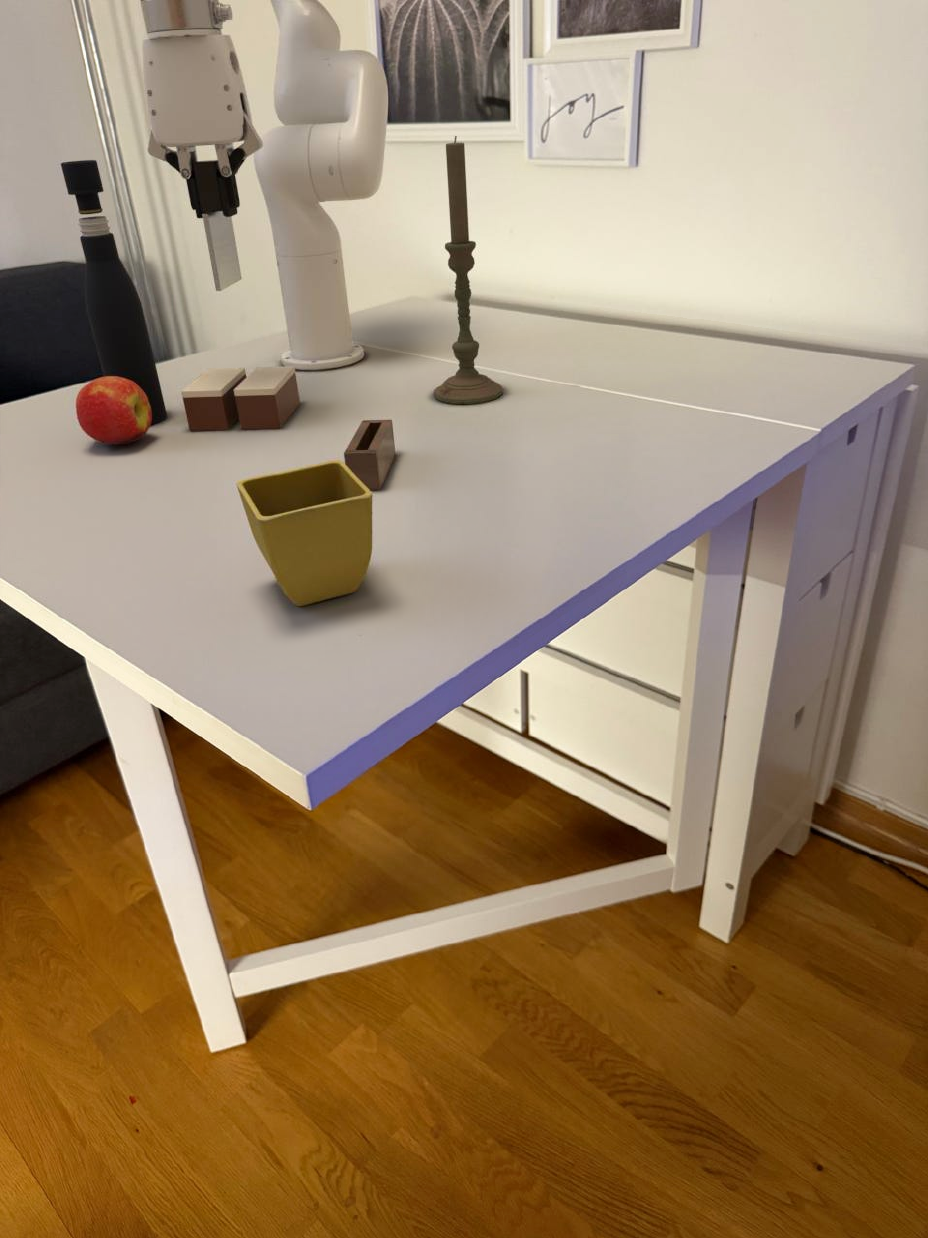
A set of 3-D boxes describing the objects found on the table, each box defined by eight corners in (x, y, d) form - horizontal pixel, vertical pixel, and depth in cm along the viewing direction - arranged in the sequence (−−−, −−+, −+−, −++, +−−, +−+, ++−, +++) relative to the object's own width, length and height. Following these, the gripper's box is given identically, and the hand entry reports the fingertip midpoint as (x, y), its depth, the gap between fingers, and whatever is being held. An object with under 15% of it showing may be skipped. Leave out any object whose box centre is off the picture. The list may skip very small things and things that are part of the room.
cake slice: (263, 404, 119) (257, 366, 117) (300, 403, 119) (294, 365, 116) (240, 429, 111) (233, 389, 108) (280, 428, 110) (273, 388, 108)
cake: (215, 406, 120) (208, 368, 117) (251, 405, 119) (245, 367, 117) (189, 430, 111) (180, 391, 109) (228, 429, 111) (220, 389, 108)
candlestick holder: (513, 386, 120) (506, 131, 105) (486, 407, 113) (474, 137, 98) (452, 381, 124) (436, 134, 108) (421, 401, 116) (400, 140, 101)
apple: (130, 456, 104) (113, 388, 100) (70, 453, 107) (51, 386, 103) (169, 434, 111) (154, 369, 107) (111, 431, 113) (94, 367, 109)
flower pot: (278, 626, 69) (258, 518, 64) (254, 579, 76) (234, 479, 71) (386, 598, 72) (374, 493, 67) (353, 555, 79) (340, 458, 74)
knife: (229, 279, 109) (209, 159, 102) (249, 278, 109) (229, 158, 102) (208, 291, 102) (184, 163, 96) (228, 290, 102) (206, 161, 95)
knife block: (366, 454, 101) (362, 419, 99) (395, 453, 100) (392, 419, 98) (348, 490, 92) (343, 453, 90) (380, 489, 91) (376, 452, 89)
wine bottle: (152, 428, 113) (88, 162, 98) (106, 427, 115) (36, 165, 99) (176, 412, 119) (118, 157, 103) (132, 411, 120) (69, 160, 105)
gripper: (268, 17, 95) (295, 208, 104) (122, 28, 96) (161, 215, 106) (248, 13, 88) (278, 216, 98) (91, 25, 90) (136, 224, 99)
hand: (217, 214), depth 102 cm, fingers closed on knife, 2 cm apart
